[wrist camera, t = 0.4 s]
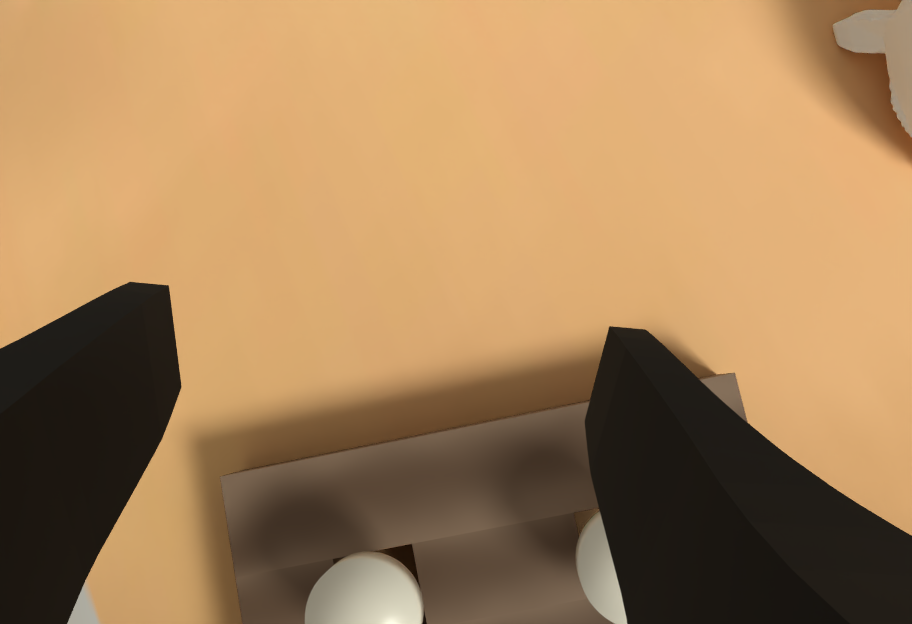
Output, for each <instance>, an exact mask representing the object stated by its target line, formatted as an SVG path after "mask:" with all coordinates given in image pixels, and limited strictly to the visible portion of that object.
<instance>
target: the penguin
mask: <svg viewBox="0 0 912 624" xmlns="http://www.w3.org/2000/svg"><path fill="white" fill-rule="evenodd" d="M833 31H834V35H835V39H836V42H837V45H839V46H840V47H842V48H844V49H847V50H851V51H852V52H853V51H854V52H855V53H862V52H863V53H873V54H874V53H885V54H886V61H887V70H888V75H889V78H890V84H889V87H890V90H891V101H890V102H891V104H892V105H893V110H894V111H895V112H896V113H897V118H898V120H900V121H901V124H902V127H904V128H905V131H906V132H907V133H909V135H910V137H912V0H902V1H901V3H900V5H899V6H898V9H897V10H864V11H861V12H858V13H854V14H853V15H852V16H850V17H848V18H846V19H843V20H841V21H839V22H836V23H834V24H833Z"/></svg>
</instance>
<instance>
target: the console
mask: <svg viewBox="0 0 912 624" xmlns="http://www.w3.org/2000/svg"><path fill="white" fill-rule="evenodd" d="M698 379H699V380H700V381H701V382H702V383H704V384H705V385H706V386H707V387H708V388H709V389H710V390H711V391H712V392H713V393H714V394H715V395H716V396H718V397H719V398H720V399H721V400H722V401H723V402H724V403H725V404H726V405H728V406H729V407H730V408H731V409H732V410H733V411H734V412H735V413H737V414H738V415H739V416H740V417H741V418H742V419H744V420H745V421H746V422H747V419H746V415H745V411H744V407H743V403H742V399H741V395H740V391H739V387H738V383H737V379H736V376H735V373H728V374H718V375H713V376H708V377H703V378H698ZM589 402H590V400H589V401H584V402H579V403H574V404H569V405H564V406H559V407H554V408H549V409H544V410H539V411H534V412H529V413H524V414H519V415H514V416H509V417H505V418H500V419H495V420H490V421H485V422H480V423H475V424H470V425H465V426H460V427H455V428H450V429H445V430H440V431H435V432H430V433H425V434H420V435H415V436H410V437H405V438H400V439H395V440H391V441H386V442H381V443H376V444H371V445H366V446H361V447H356V448H351V449H346V450H341V451H336V452H331V453H326V454H321V455H316V456H311V457H306V458H301V459H296V460H291V461H286V462H282V463H277V464H272V465H267V466H262V467H257V468H252V469H247V470H242V471H239V472H235V473H231V474H228V475H224V476H220V479H221V486H222V492H223V499H224V506H225V512H226V519H227V525H228V532H229V538H230V545H231V551H232V558H233V564H234V571H235V577H236V584H237V590H238V597H239V604H240V610H241V617H242V623H243V624H305V610H306V604H307V601H308V598H309V595H310V593H311V591H312V589H313V587H314V585H315V584H316V583H317V581H318V580H319V579H320V578H321V577H322V576H323V575H324V573H326V572H327V571H328V570H329V569H330V568H331V567H332V566H333V565H334V564H336V563H337V562H338V561H339V560H341V559H343V558H345V557H346V556H349V555H351V554H355V553H358V552H371V551H377V550H382V549H387V548H392V547H398V546H403V545H408V544H412V547H413V552H414V558H415V563H416V568H417V574H418V579H419V584H420V590H421V593H422V597H423V604H424V616H423V623H422V624H615V623H613V622H611V621H609V620H608V619H606V618H605V617H604V616H602V615H601V614H600V613H599V612H598V611H597V610H596V609H595V608H594V607H593V605H592V604H591V603H590V601H589V600H588V598H587V596H586V595H585V592H584V590H583V588H582V585H581V582H580V579H579V576H578V572H577V568H576V546H577V542H578V539H579V535H578V531H577V526H576V521H575V517H574V513H575V512H580V511H585V510H590V509H595V508H599V506H598V502H597V498H596V494H595V490H594V486H593V482H592V478H591V474H590V466H589V458H588V451H587V441H586V431H585V417H586V414H587V410H588V406H589Z"/></svg>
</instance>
